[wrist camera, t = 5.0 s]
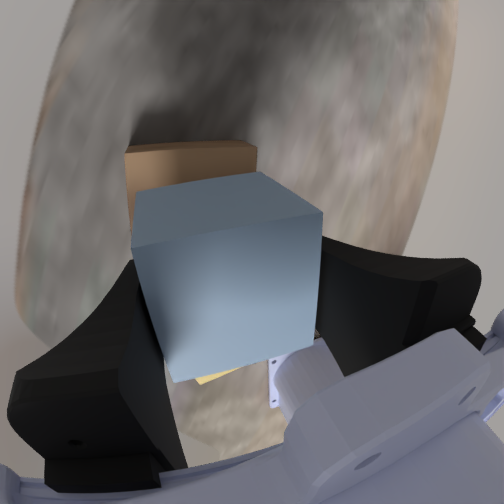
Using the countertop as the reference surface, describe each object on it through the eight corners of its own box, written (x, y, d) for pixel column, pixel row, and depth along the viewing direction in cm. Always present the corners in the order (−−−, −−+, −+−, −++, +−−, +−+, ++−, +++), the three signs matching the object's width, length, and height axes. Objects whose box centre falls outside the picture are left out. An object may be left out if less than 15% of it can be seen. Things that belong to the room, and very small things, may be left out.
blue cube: (259, 171, 12) (322, 212, 8) (264, 275, 15) (313, 345, 11) (136, 191, 11) (130, 248, 7) (160, 298, 13) (173, 382, 9)
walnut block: (236, 238, 22) (251, 261, 19) (137, 248, 20) (137, 274, 17) (239, 139, 19) (257, 147, 16) (128, 145, 17) (124, 153, 14)
